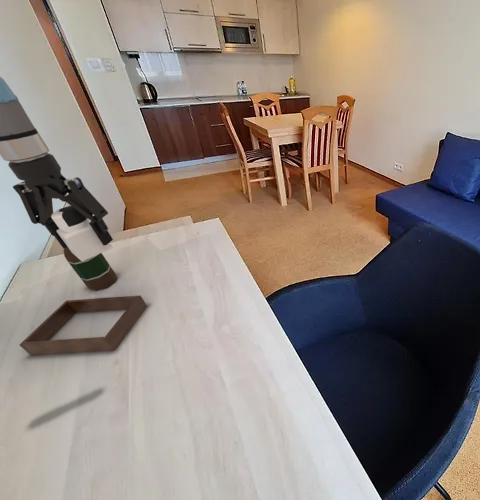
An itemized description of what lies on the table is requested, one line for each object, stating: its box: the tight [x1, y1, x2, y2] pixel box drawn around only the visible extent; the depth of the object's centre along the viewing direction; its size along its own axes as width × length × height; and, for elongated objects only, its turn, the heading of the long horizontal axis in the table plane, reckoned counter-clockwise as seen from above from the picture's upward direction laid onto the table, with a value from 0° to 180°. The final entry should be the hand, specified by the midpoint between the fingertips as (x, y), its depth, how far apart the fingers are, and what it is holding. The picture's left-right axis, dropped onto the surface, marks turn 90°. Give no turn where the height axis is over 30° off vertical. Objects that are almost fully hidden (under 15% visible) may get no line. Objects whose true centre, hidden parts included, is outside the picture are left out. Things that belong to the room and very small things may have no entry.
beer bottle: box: [53, 221, 118, 292], centre depth 88 cm, size 8×8×24 cm
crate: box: [19, 294, 148, 357], centre depth 77 cm, size 21×15×5 cm
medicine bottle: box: [51, 205, 113, 261], centre depth 75 cm, size 7×7×12 cm
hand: (88, 243), depth 77 cm, fingers closed on medicine bottle, 10 cm apart
